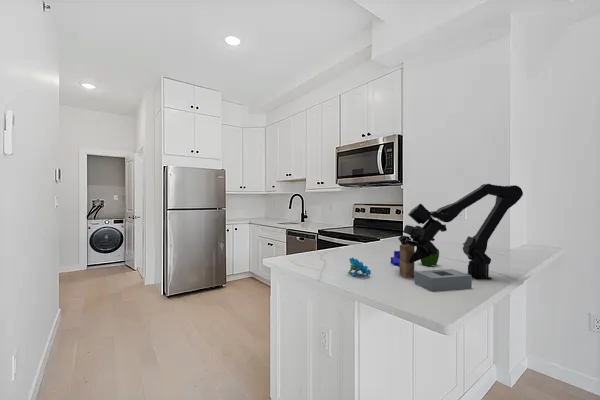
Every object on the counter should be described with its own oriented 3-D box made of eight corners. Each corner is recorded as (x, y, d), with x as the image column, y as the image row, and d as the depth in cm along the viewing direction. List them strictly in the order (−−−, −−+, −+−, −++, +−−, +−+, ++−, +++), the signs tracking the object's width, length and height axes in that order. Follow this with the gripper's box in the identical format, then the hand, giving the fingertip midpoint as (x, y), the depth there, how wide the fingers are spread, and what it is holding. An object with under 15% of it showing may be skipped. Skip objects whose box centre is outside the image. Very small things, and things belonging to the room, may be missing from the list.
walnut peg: (408, 275, 121) (408, 244, 121) (414, 277, 117) (414, 246, 117) (399, 275, 120) (399, 244, 120) (405, 278, 116) (405, 246, 116)
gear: (376, 273, 116) (359, 256, 115) (368, 285, 114) (350, 268, 113) (361, 271, 127) (345, 255, 125) (353, 282, 125) (337, 266, 123)
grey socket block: (451, 280, 113) (451, 269, 113) (471, 288, 104) (471, 275, 104) (414, 283, 109) (414, 271, 109) (432, 291, 100) (432, 278, 100)
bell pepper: (442, 266, 135) (443, 245, 135) (426, 267, 134) (426, 245, 134) (431, 262, 144) (432, 242, 144) (416, 263, 142) (416, 242, 142)
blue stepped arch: (390, 263, 143) (390, 250, 143) (400, 263, 143) (400, 251, 143) (398, 269, 131) (398, 255, 131) (408, 269, 131) (408, 256, 131)
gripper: (402, 216, 128) (379, 242, 126) (431, 220, 110) (404, 250, 108) (418, 234, 130) (395, 260, 128) (449, 240, 112) (423, 271, 110)
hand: (403, 260), depth 118 cm, fingers open, 7 cm apart
